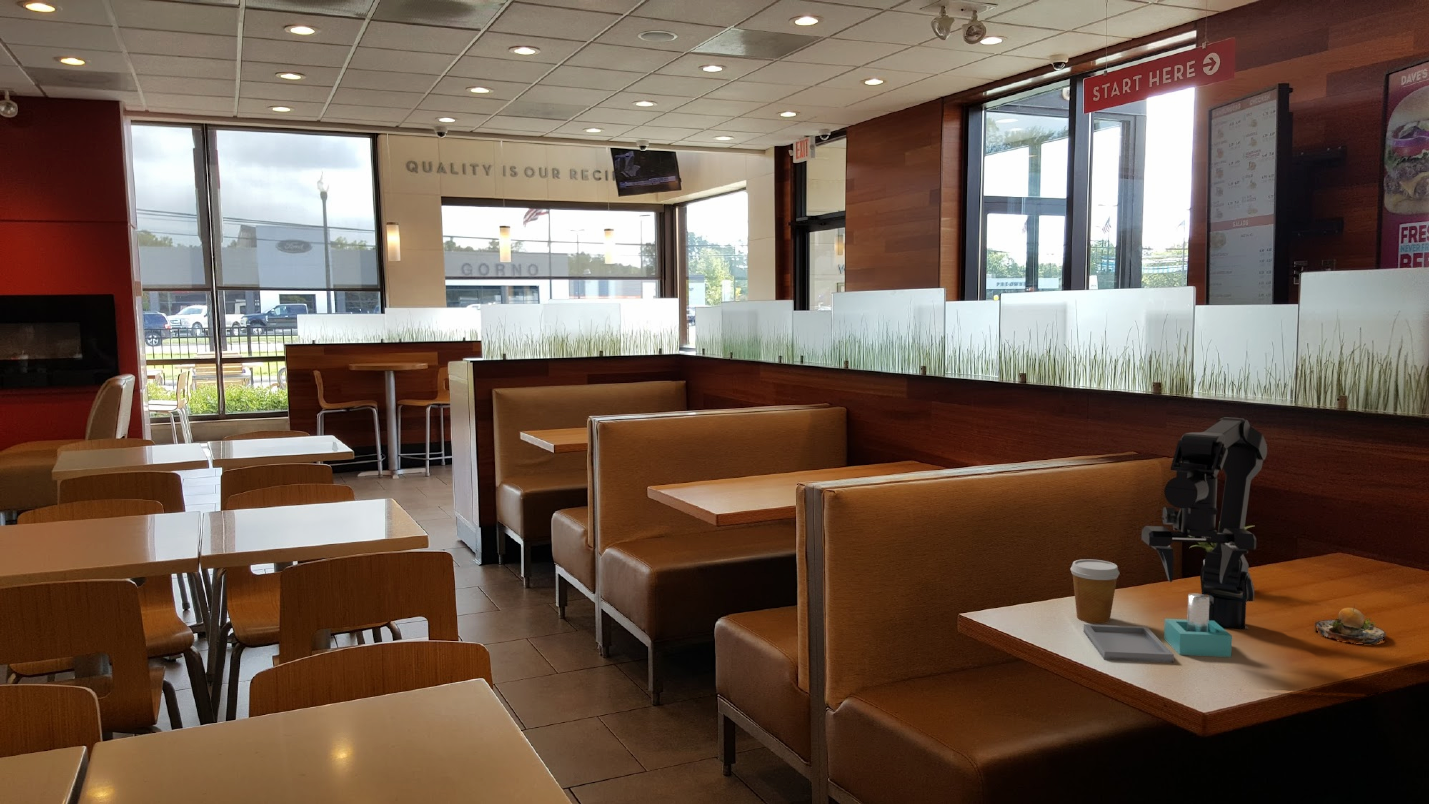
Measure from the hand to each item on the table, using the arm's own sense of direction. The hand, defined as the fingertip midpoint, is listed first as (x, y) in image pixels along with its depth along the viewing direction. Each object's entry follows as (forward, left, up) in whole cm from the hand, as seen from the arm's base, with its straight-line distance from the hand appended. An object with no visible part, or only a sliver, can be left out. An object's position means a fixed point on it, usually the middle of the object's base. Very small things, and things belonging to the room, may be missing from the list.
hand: (1195, 582), depth 183 cm
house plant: (-21, -46, -13) cm, 52 cm away
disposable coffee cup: (+15, -16, -13) cm, 25 cm away
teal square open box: (0, 0, -13) cm, 13 cm away
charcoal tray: (+13, +1, -13) cm, 18 cm away
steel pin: (0, 0, -12) cm, 13 cm away
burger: (-33, -13, -14) cm, 38 cm away
